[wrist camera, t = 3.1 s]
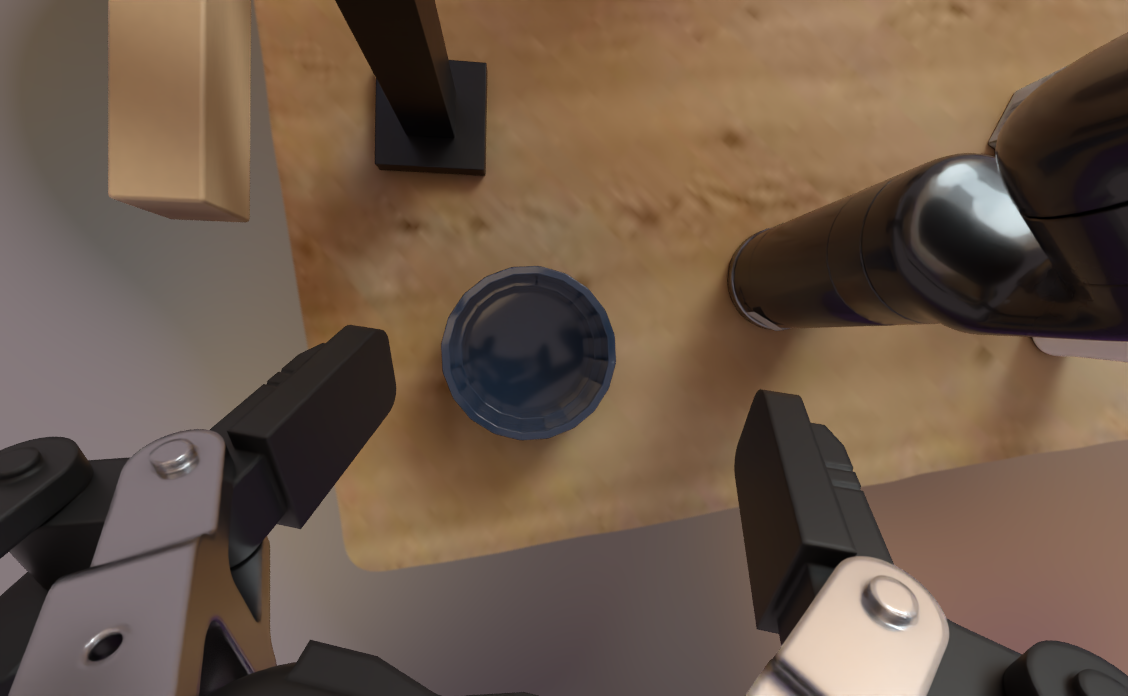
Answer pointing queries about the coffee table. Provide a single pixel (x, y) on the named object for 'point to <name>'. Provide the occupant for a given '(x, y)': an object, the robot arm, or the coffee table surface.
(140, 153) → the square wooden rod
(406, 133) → the headphone stand
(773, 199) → the coffee table surface
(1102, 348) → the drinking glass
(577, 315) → the bowl
